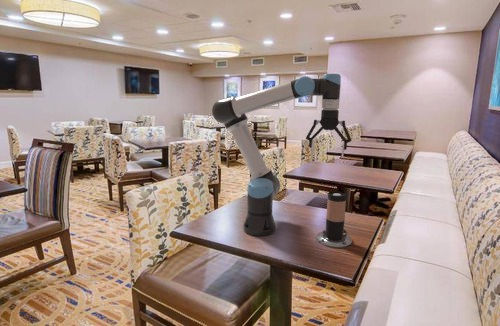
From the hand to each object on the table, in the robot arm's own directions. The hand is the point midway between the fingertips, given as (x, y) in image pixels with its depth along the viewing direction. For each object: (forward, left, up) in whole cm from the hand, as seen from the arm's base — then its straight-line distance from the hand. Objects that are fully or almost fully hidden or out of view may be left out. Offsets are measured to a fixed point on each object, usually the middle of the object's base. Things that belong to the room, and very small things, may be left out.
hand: (327, 155), depth 147 cm
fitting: (+6, -11, -35) cm, 37 cm away
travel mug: (+6, -14, -34) cm, 37 cm away
